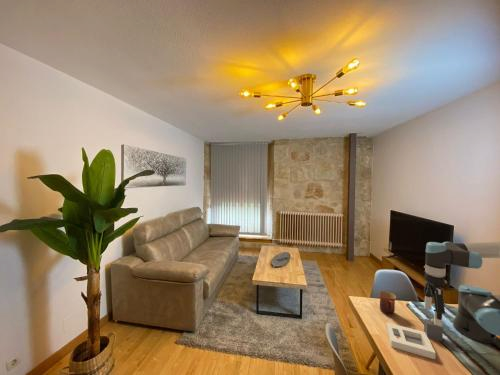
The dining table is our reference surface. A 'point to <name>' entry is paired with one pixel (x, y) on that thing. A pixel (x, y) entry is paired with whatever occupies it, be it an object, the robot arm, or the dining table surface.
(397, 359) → the dining table surface
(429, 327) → the plug
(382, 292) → the mug
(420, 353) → the socket plate
